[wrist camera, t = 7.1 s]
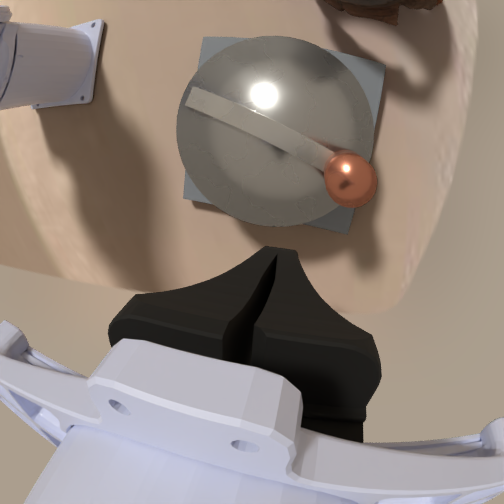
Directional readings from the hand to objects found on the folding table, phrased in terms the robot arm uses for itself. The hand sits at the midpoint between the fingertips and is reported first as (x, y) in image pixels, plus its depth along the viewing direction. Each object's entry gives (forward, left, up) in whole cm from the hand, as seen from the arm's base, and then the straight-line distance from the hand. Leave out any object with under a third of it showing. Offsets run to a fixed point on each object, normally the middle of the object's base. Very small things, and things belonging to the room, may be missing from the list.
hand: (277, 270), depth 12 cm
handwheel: (-2, +5, -8) cm, 10 cm away
